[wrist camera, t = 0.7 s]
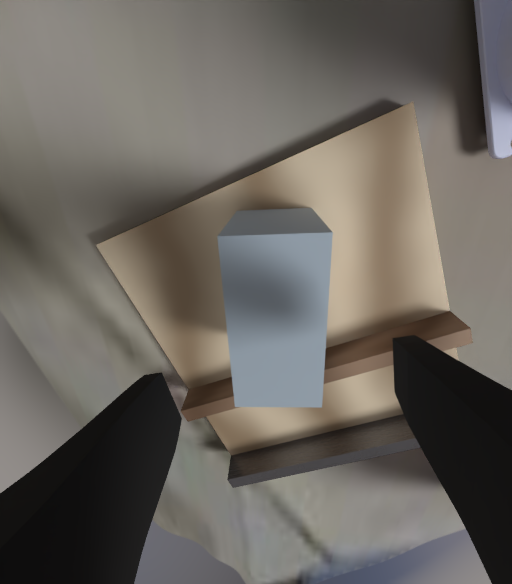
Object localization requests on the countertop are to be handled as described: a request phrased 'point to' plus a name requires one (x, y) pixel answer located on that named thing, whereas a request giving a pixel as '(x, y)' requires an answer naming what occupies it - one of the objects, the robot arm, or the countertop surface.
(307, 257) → the carton
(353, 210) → the shelf
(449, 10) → the countertop surface
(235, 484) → the price rail
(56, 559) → the robot arm
